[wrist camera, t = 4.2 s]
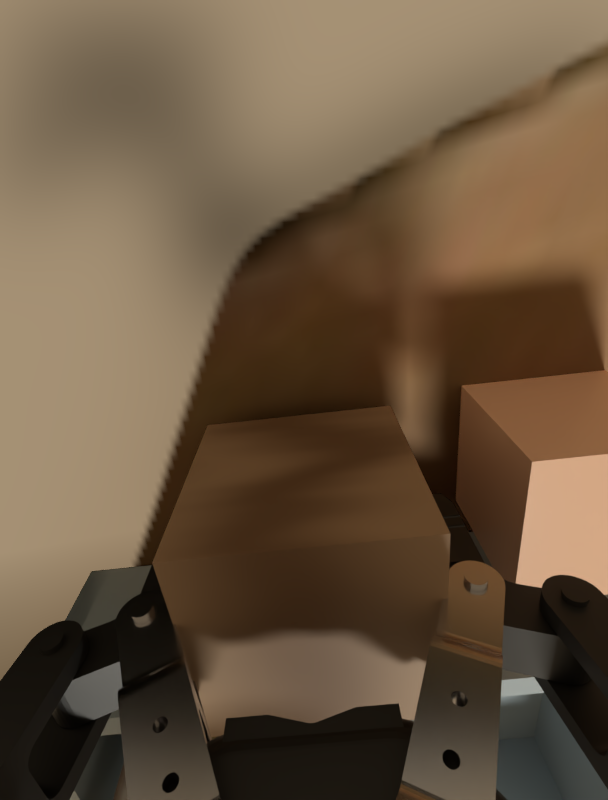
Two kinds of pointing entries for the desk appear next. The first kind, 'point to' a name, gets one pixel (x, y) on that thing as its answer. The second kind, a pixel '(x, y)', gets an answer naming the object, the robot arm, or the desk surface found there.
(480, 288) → the desk surface
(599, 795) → the tote
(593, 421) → the cube
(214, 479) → the block
